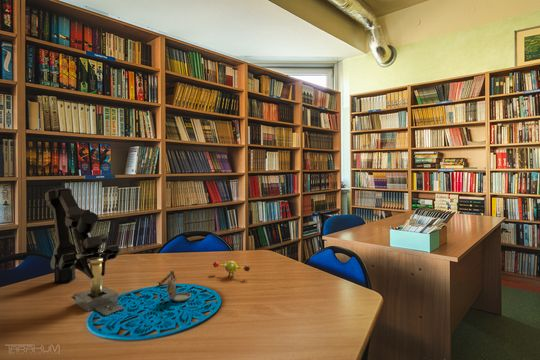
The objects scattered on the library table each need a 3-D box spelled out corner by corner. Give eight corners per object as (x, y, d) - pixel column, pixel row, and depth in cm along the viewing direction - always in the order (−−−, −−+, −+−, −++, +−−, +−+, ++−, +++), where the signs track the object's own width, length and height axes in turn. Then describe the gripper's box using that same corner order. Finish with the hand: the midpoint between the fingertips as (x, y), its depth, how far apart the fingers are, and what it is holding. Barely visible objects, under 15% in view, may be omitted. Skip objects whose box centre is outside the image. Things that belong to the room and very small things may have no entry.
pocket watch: (194, 296, 115) (194, 269, 115) (180, 305, 107) (180, 276, 107) (175, 293, 118) (175, 267, 117) (161, 302, 110) (160, 274, 109)
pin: (86, 299, 108) (85, 260, 108) (96, 294, 112) (95, 257, 112) (97, 300, 107) (96, 261, 107) (106, 295, 111) (106, 257, 111)
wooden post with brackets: (178, 277, 132) (175, 269, 131) (164, 290, 126) (160, 282, 125) (176, 277, 133) (172, 268, 132) (161, 290, 127) (157, 281, 126)
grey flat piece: (66, 298, 114) (66, 289, 114) (95, 289, 122) (95, 282, 122) (98, 318, 98) (98, 309, 98) (129, 307, 106) (129, 298, 106)
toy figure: (209, 275, 137) (209, 260, 137) (216, 271, 142) (216, 257, 142) (246, 280, 131) (246, 264, 130) (252, 276, 136) (252, 261, 135)
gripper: (60, 231, 104) (73, 270, 98) (117, 223, 119) (131, 257, 112) (53, 250, 110) (65, 289, 103) (108, 241, 124) (121, 274, 117)
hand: (97, 276), depth 109 cm, fingers closed on pin, 3 cm apart
